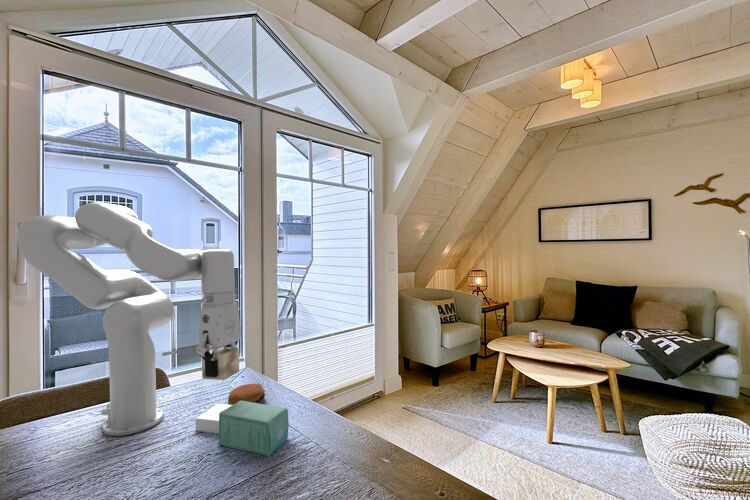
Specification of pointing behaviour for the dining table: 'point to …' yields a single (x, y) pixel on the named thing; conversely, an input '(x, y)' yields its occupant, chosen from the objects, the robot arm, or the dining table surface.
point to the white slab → (210, 419)
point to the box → (253, 427)
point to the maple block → (224, 363)
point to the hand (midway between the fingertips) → (220, 370)
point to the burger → (247, 394)
